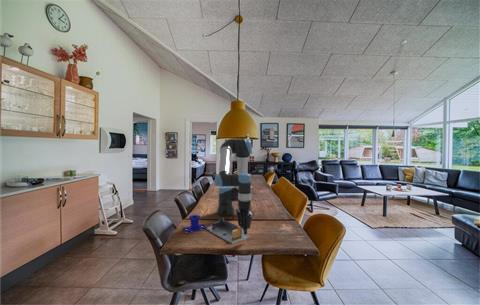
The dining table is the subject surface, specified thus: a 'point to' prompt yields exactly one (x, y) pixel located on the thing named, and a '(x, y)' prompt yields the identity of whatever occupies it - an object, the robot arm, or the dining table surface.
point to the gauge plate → (224, 230)
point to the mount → (194, 224)
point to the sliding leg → (236, 232)
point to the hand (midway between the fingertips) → (243, 239)
